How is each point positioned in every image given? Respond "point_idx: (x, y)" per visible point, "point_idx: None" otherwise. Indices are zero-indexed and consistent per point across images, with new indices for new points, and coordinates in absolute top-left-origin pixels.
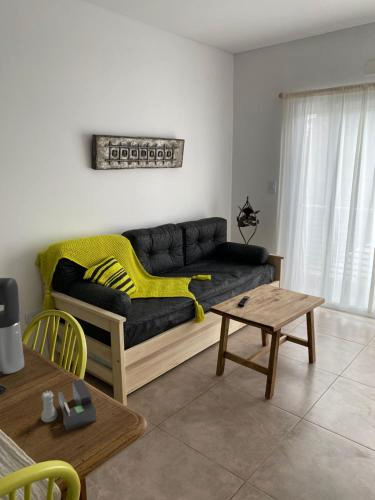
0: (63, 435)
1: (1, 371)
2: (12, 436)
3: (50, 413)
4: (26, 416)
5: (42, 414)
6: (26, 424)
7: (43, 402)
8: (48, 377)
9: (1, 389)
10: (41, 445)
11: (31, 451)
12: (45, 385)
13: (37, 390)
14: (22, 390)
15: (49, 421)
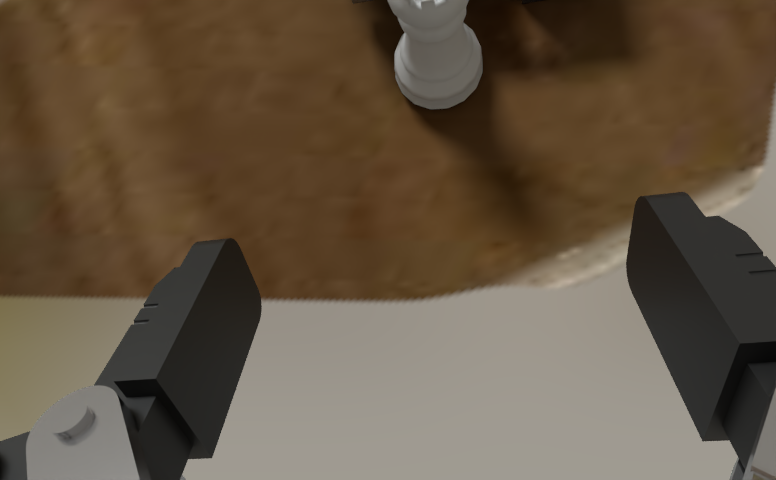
0: (625, 9)
1: (212, 253)
2: (519, 262)
3: (472, 39)
4: (370, 187)
5: (445, 88)
6: (443, 189)
7: (443, 35)
8: (57, 63)
9: (752, 248)
10: (664, 119)
11: (694, 170)
12: (126, 81)
13: (154, 124)
14: (114, 202)
15: (479, 70)
